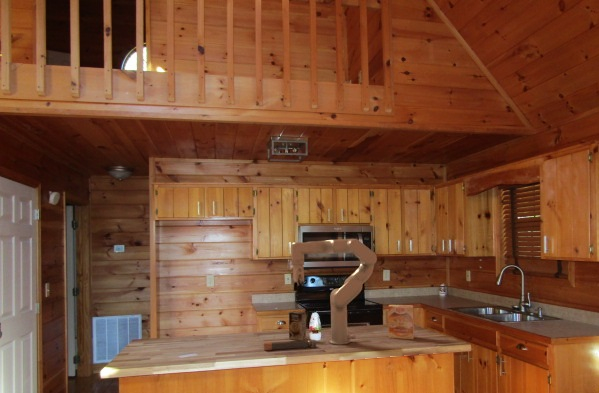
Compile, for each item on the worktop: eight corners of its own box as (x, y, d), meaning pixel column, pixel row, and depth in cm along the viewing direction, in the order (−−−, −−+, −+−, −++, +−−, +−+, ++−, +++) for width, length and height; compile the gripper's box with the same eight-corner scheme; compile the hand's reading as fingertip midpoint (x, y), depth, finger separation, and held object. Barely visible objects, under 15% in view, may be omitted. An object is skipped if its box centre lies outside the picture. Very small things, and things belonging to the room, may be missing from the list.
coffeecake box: (388, 338, 278) (387, 306, 279) (389, 335, 284) (389, 304, 286) (413, 339, 273) (412, 306, 275) (414, 336, 280) (413, 305, 282)
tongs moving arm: (311, 346, 258) (311, 340, 258) (312, 347, 256) (311, 341, 256) (264, 349, 252) (264, 343, 253) (264, 350, 250) (264, 344, 250)
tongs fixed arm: (314, 345, 261) (314, 339, 261) (316, 347, 257) (316, 341, 257) (263, 349, 254) (263, 342, 255) (264, 350, 250) (264, 344, 250)
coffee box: (288, 339, 278) (288, 312, 279) (293, 337, 283) (293, 310, 285) (301, 340, 273) (301, 313, 275) (306, 338, 279) (306, 311, 281)
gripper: (307, 263, 263) (307, 293, 261) (300, 261, 280) (301, 289, 278) (294, 263, 261) (295, 293, 260) (288, 262, 278) (289, 290, 276)
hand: (298, 291), depth 269 cm, fingers open, 9 cm apart
